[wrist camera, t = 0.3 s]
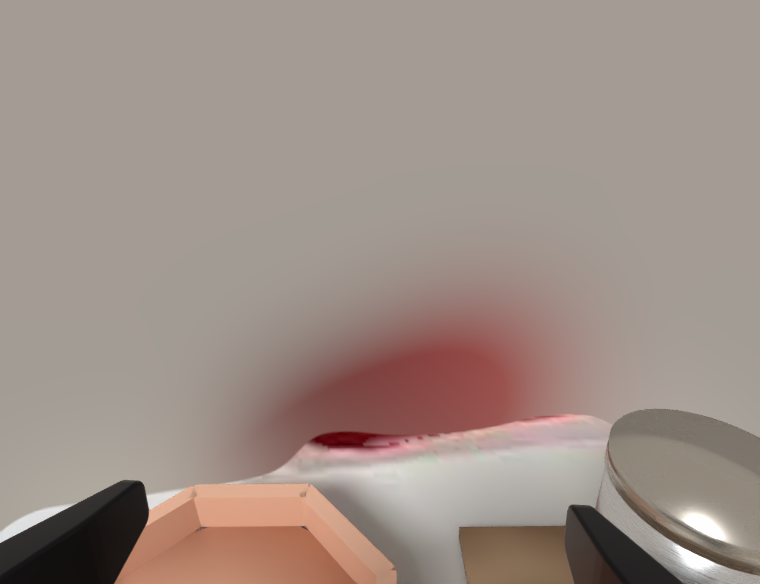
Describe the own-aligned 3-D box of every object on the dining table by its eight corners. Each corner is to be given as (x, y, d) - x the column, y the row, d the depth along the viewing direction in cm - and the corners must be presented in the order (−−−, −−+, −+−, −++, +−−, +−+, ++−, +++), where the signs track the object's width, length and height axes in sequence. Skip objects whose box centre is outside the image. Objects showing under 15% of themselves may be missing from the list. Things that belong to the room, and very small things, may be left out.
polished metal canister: (767, 765, 15) (911, 553, 11) (604, 764, 16) (681, 555, 11) (663, 593, 21) (730, 407, 17) (545, 593, 21) (580, 409, 17)
